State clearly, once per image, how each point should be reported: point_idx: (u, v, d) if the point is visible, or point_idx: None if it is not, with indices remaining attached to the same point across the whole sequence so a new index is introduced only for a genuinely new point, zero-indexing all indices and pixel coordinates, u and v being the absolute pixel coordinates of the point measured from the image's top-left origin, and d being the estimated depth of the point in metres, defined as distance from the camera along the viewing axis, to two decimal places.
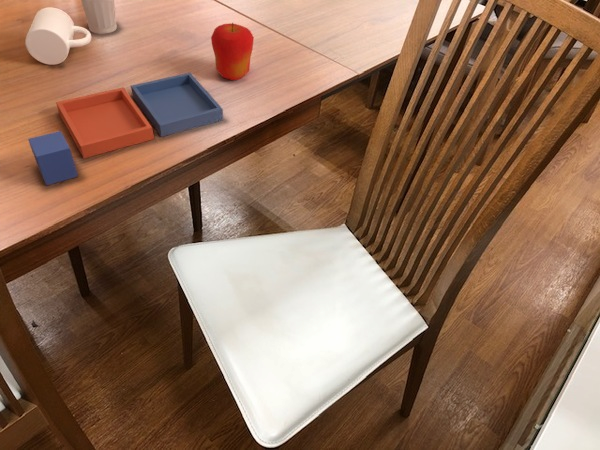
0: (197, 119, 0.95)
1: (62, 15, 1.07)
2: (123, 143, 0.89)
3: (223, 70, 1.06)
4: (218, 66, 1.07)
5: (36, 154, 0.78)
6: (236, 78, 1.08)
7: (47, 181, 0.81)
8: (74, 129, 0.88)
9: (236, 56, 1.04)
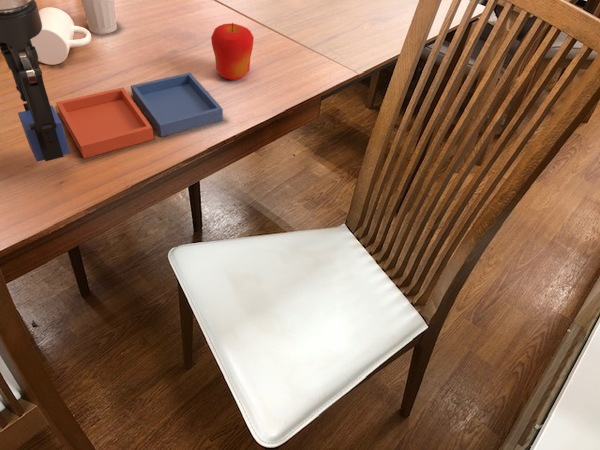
0: (197, 119, 0.95)
1: (62, 15, 1.07)
2: (123, 143, 0.89)
3: (223, 70, 1.06)
4: (218, 66, 1.07)
5: (26, 128, 0.74)
6: (236, 78, 1.08)
7: (38, 157, 0.78)
8: (74, 129, 0.88)
9: (236, 56, 1.04)
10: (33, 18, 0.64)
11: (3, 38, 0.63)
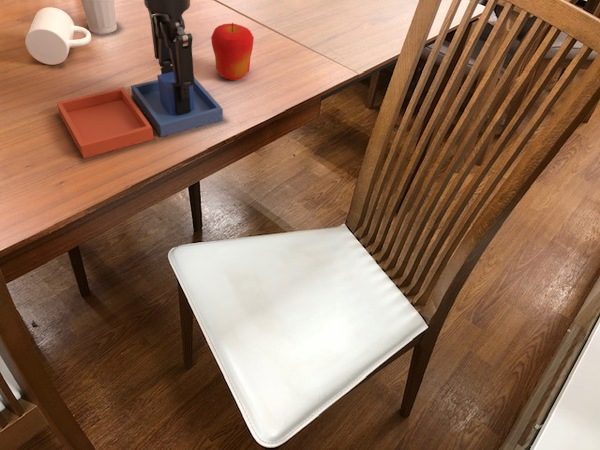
0: (197, 119, 0.95)
1: (62, 15, 1.07)
2: (123, 143, 0.89)
3: (223, 70, 1.06)
4: (218, 66, 1.07)
5: (167, 86, 0.93)
6: (236, 78, 1.08)
7: (172, 111, 0.96)
8: (74, 129, 0.88)
9: (236, 56, 1.04)
10: None
11: (166, 10, 0.82)
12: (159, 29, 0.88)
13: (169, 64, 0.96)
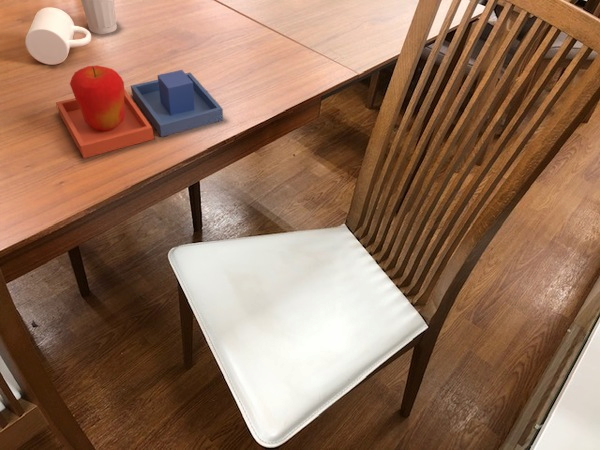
0: (197, 119, 0.95)
1: (62, 15, 1.07)
2: (123, 143, 0.89)
3: (88, 121, 0.89)
4: (83, 116, 0.90)
5: (167, 86, 0.93)
6: (107, 129, 0.91)
7: (172, 111, 0.96)
8: (74, 129, 0.88)
9: (100, 106, 0.86)
10: None
11: None
12: None
13: None
